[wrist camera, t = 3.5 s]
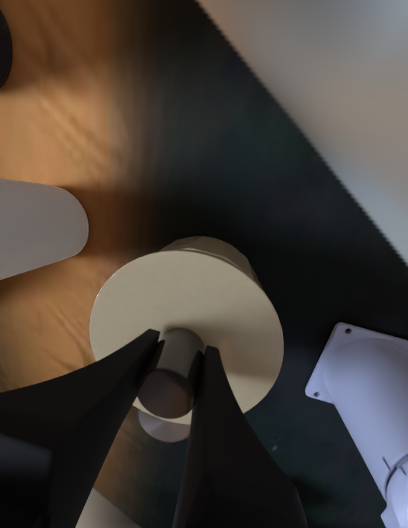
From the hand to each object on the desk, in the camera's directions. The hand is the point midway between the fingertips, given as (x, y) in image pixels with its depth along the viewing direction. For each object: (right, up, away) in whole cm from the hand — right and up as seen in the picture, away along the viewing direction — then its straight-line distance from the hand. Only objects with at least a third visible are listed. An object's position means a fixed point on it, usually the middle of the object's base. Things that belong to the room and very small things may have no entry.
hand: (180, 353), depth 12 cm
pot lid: (0, 0, +1) cm, 1 cm away
